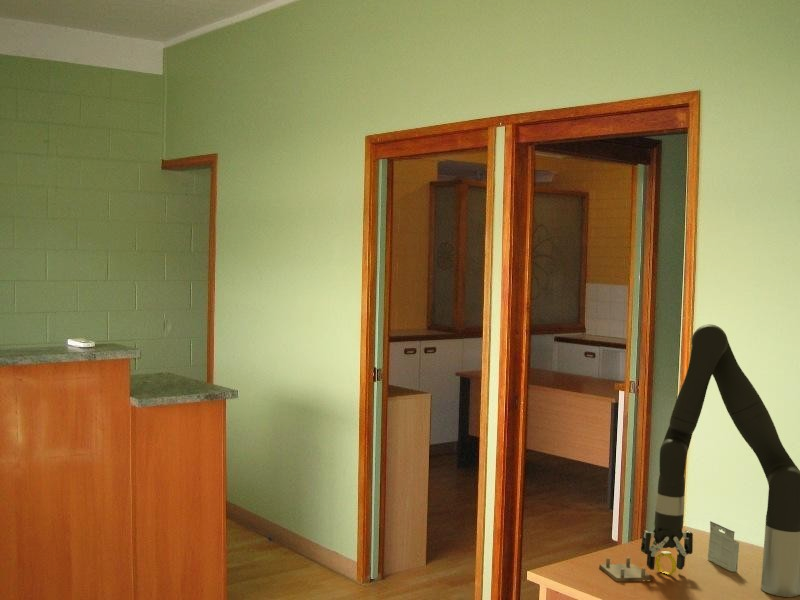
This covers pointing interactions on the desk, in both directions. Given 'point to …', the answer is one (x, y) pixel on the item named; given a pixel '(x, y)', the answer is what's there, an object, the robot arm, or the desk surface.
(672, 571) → the watch
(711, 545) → the ink box
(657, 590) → the desk surface
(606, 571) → the pin plate
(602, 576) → the desk surface
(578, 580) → the desk surface
